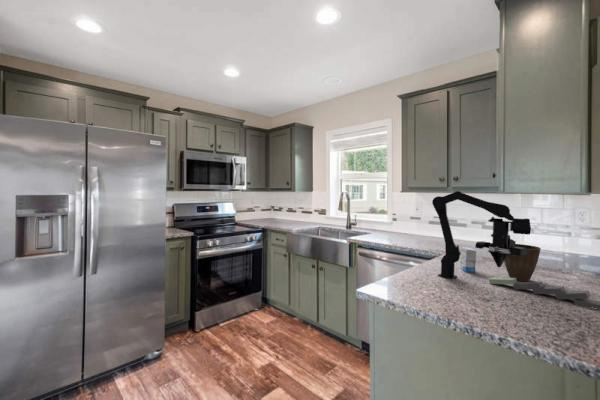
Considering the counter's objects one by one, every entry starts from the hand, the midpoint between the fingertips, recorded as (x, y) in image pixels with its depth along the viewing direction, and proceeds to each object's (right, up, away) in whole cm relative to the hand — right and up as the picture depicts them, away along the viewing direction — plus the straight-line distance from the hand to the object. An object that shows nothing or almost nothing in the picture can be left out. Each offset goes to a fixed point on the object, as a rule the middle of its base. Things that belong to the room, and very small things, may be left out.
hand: (499, 267), depth 127 cm
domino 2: (+8, -7, -10) cm, 15 cm away
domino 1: (+4, -7, -5) cm, 9 cm away
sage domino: (-2, -7, +2) cm, 7 cm away
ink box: (-1, -8, +23) cm, 24 cm away
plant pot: (+16, -8, +9) cm, 20 cm away
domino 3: (+12, -7, -16) cm, 21 cm away
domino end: (+14, -8, -20) cm, 26 cm away
